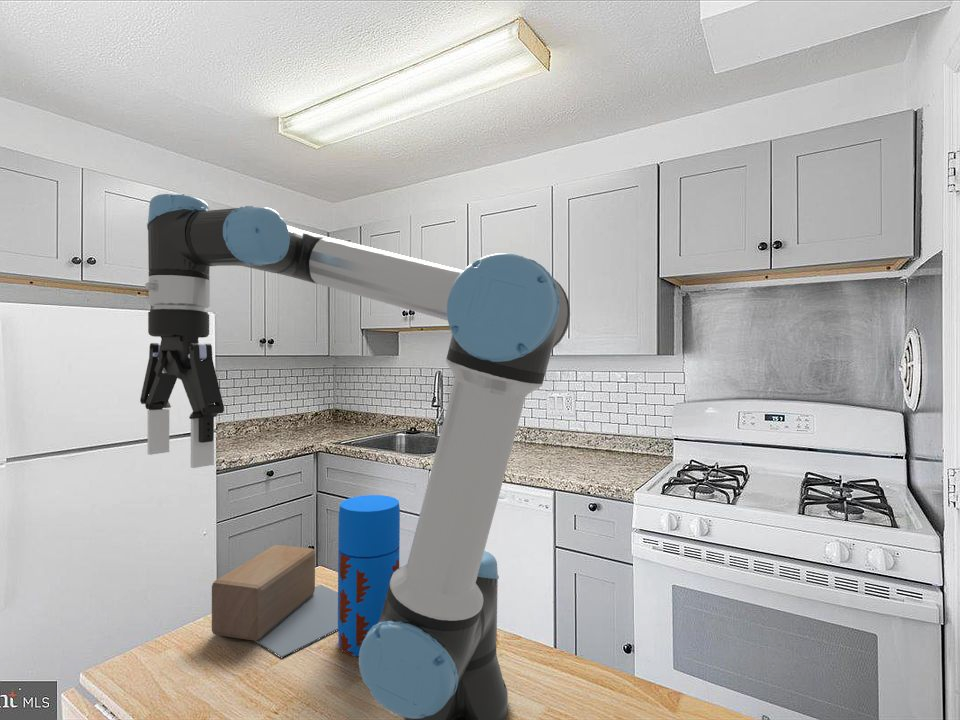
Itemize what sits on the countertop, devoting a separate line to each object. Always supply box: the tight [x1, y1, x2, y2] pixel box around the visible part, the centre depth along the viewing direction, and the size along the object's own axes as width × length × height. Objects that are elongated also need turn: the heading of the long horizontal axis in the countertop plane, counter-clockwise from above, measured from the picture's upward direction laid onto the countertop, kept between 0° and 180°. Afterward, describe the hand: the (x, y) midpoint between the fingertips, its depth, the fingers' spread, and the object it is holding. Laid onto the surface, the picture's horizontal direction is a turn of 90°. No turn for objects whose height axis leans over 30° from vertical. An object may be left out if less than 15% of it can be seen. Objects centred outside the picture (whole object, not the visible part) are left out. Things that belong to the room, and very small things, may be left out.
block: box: [211, 544, 316, 641], centre depth 105 cm, size 10×10×20 cm
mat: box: [252, 584, 338, 658], centre depth 105 cm, size 18×21×1 cm
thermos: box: [337, 494, 401, 657], centre depth 97 cm, size 11×11×25 cm
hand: (179, 459), depth 76 cm, fingers open, 13 cm apart
